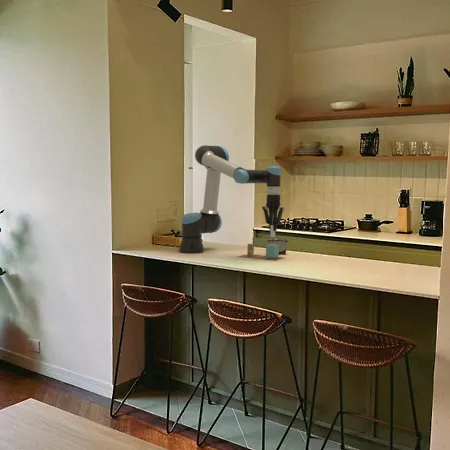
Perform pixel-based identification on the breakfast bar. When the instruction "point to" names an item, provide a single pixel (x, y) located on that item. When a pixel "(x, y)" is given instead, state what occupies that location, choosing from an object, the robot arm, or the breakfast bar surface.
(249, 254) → the post
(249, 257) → the board
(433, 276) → the breakfast bar surface
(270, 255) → the teal rectangular block
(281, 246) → the food container
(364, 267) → the breakfast bar surface
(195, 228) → the robot arm
